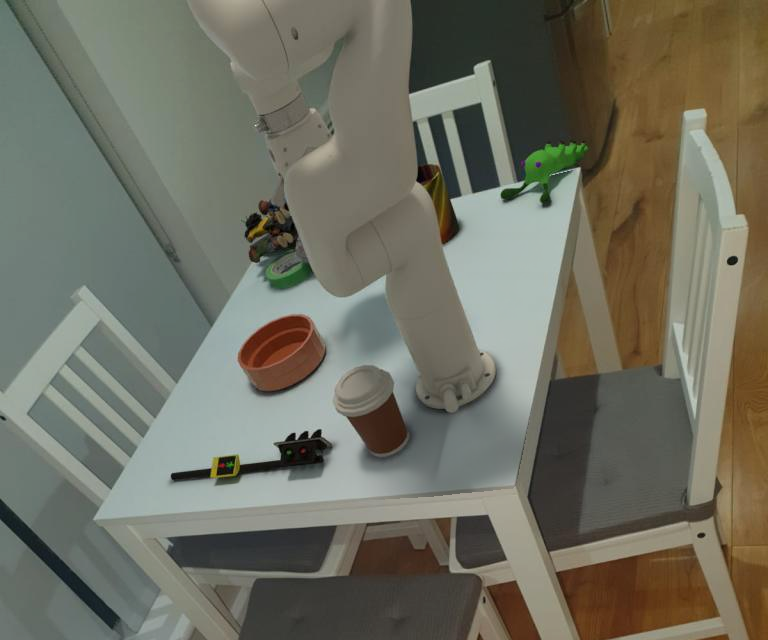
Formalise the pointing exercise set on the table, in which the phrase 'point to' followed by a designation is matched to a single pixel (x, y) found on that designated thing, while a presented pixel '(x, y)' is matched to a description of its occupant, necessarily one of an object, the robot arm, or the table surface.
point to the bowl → (281, 352)
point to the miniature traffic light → (291, 455)
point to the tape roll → (291, 276)
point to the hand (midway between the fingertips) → (333, 217)
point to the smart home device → (289, 245)
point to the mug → (439, 200)
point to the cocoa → (372, 409)
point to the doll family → (268, 229)
